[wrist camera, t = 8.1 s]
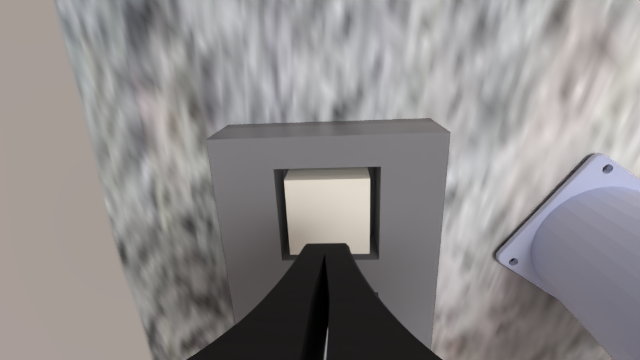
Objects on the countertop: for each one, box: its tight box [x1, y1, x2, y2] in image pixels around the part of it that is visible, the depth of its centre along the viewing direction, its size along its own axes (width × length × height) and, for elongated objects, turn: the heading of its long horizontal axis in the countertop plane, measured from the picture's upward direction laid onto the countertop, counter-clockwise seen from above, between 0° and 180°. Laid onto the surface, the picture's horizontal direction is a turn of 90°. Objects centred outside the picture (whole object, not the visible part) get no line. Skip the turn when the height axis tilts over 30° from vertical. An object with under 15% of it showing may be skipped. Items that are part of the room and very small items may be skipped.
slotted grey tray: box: [206, 118, 450, 350], centre depth 21 cm, size 22×11×4 cm, turn 2°
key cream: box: [284, 167, 370, 255], centre depth 18 cm, size 4×4×2 cm
